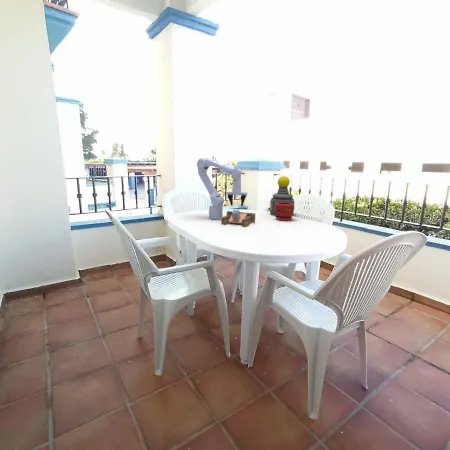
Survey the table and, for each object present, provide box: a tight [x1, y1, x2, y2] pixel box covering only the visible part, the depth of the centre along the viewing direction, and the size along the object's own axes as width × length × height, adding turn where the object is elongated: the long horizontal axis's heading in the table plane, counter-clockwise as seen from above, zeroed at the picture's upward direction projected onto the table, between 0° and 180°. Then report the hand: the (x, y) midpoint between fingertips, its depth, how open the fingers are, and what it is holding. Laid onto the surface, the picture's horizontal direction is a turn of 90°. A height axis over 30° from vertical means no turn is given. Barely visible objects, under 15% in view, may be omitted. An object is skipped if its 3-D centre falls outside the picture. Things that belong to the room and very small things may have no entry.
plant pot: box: [275, 202, 295, 222], centre depth 197 cm, size 13×13×12 cm
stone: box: [232, 209, 241, 221], centre depth 181 cm, size 4×4×6 cm
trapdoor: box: [228, 213, 247, 225], centre depth 185 cm, size 10×10×1 cm
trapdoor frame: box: [221, 210, 256, 228], centre depth 185 cm, size 20×16×6 cm
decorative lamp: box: [269, 175, 295, 217], centre depth 213 cm, size 19×19×30 cm
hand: (236, 205), depth 191 cm, fingers open, 7 cm apart
